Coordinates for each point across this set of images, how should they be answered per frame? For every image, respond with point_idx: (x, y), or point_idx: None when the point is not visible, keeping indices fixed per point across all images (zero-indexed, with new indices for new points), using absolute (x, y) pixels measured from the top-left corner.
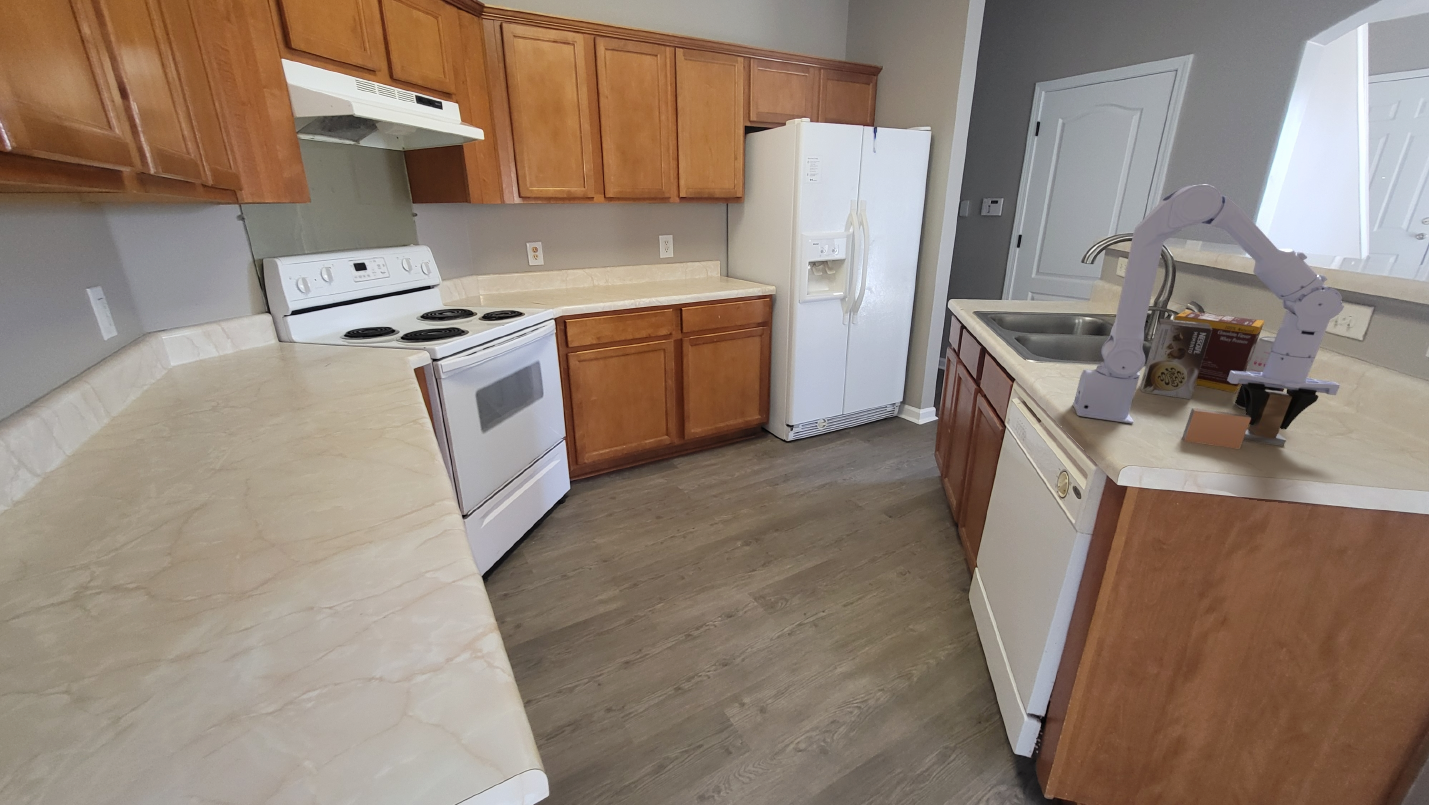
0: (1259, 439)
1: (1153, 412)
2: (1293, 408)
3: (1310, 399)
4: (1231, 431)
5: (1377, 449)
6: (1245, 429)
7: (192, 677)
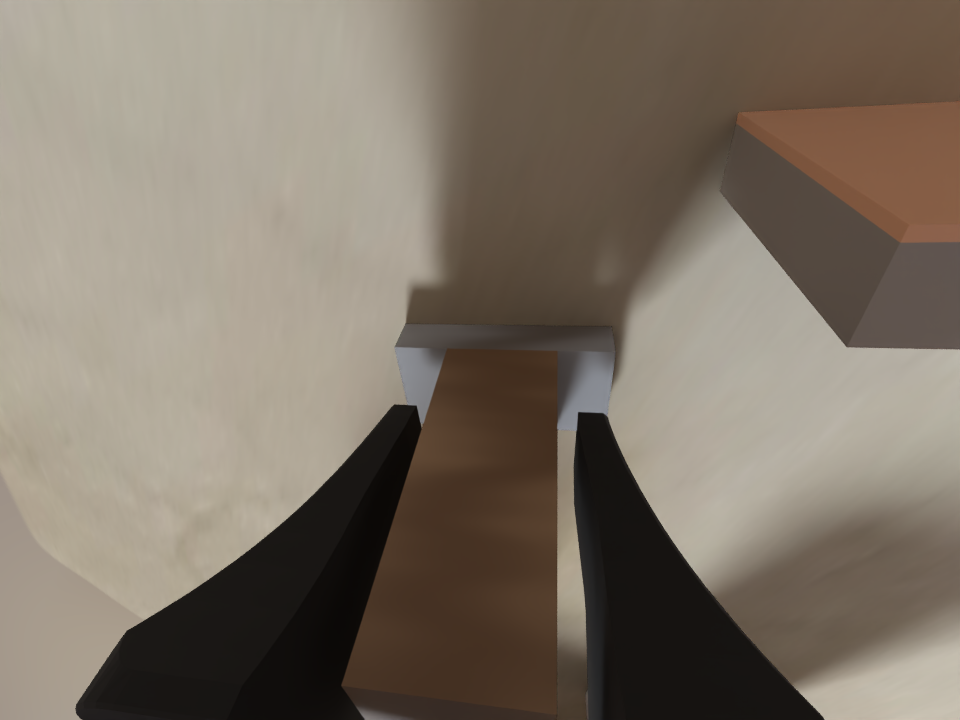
0: (525, 336)
1: (906, 548)
2: (341, 545)
3: (163, 654)
4: (936, 149)
5: (83, 432)
6: (834, 160)
7: None
